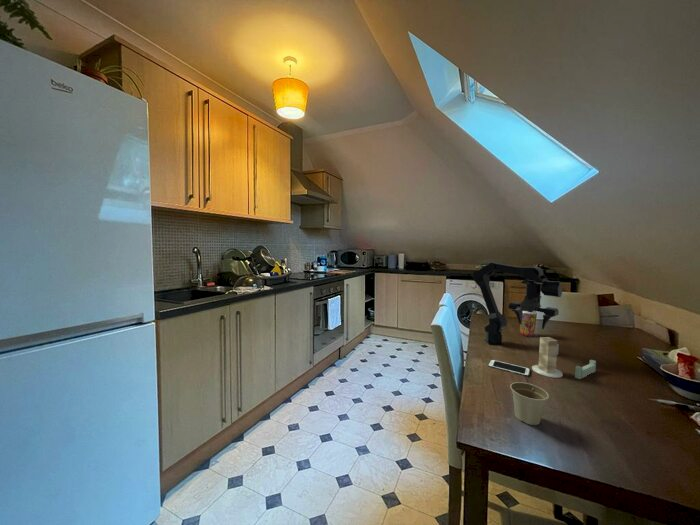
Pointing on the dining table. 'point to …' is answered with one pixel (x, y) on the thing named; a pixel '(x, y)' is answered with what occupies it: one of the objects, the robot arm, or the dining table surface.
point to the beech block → (547, 354)
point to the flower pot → (528, 402)
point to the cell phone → (509, 368)
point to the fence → (585, 370)
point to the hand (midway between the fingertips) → (531, 326)
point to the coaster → (552, 375)
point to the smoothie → (528, 323)
